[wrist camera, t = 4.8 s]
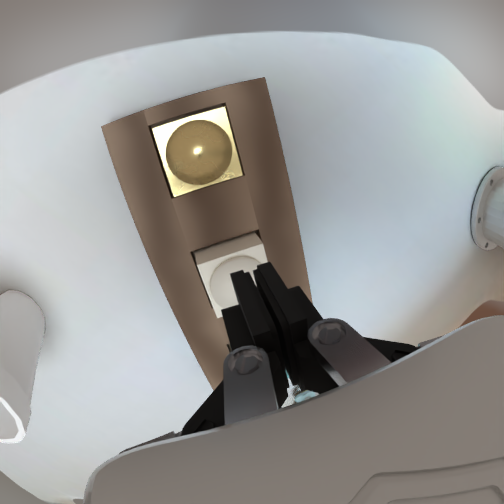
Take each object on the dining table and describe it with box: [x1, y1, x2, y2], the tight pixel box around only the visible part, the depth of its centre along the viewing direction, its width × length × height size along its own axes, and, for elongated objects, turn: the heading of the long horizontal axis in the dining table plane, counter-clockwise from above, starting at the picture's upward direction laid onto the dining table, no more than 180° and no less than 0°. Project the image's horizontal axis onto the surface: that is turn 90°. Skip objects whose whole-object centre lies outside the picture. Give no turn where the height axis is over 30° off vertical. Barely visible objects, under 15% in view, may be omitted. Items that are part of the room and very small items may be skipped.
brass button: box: [153, 107, 243, 197], centre depth 21 cm, size 5×5×4 cm
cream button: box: [194, 231, 268, 318], centre depth 25 cm, size 5×5×4 cm
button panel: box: [101, 77, 312, 390], centre depth 27 cm, size 12×28×3 cm, turn 14°
